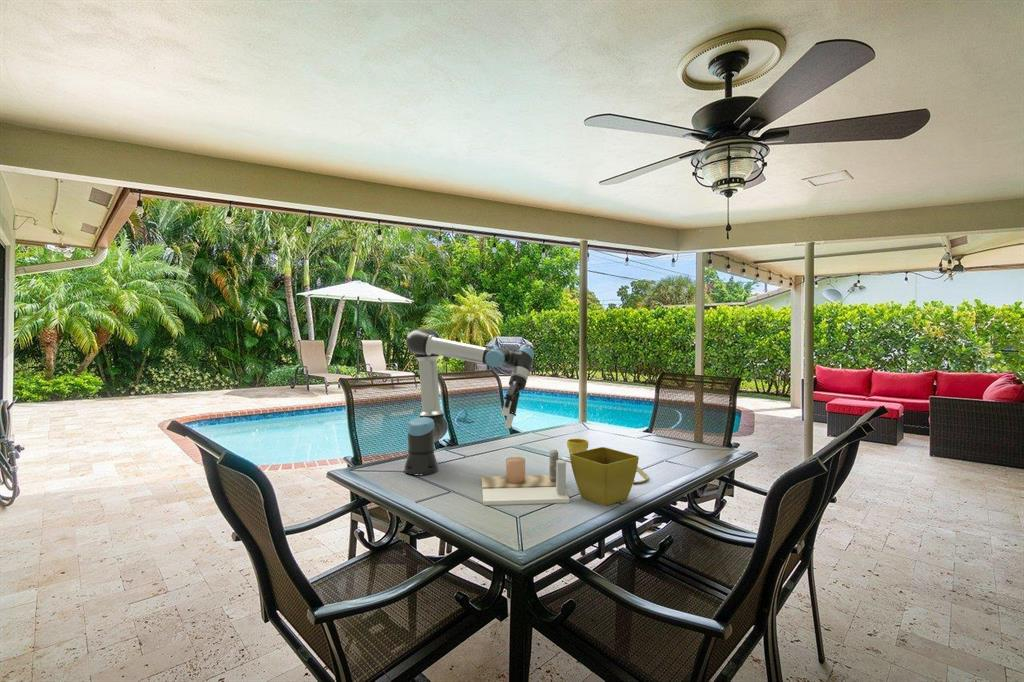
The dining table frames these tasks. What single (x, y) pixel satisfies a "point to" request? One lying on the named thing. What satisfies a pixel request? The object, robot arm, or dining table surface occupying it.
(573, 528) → the dining table surface
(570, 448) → the plant pot
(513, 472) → the tan rounded cylinder
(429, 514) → the dining table surface
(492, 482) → the oak runner
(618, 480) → the flower pot
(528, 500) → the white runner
